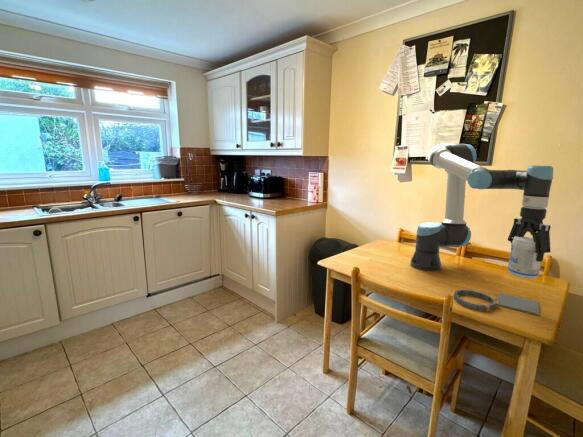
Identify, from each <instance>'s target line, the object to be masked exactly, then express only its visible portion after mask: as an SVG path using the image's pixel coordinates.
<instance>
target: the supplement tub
mask: <svg viewBox="0 0 583 437" xmlns="http://www.w3.org/2000/svg"><path fill="white" fill-rule="evenodd" d="M511 245H512V247H510V251H509V252H510V253H509V258H508V264H507V272H508V274H509V275H511V276H512V277H513V276H514V277H515V278H519V279H524V280H536V279H537V278H538V277H539V273H540V269H531V267H532V261H533V256H534V252H535V251H536V248H535V242H534V240H533V237H530V236H524V237H517V236H516V237H514V239H513V242H512V244H511ZM540 250H541V248H540Z"/></svg>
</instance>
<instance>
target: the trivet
mask: <svg viewBox="0 0 583 437" xmlns="http://www.w3.org/2000/svg"><path fill="white" fill-rule="evenodd" d="M496 302H498V307H503V308H507V309H511V310H515V311H519V312H523V313H526V314H531V315H535V316H538V317H540V312H539V310H540V309H539V303H538V300H533V299H530V298H525V297H520V296H516V295H511V294H506V293H502V292H498V294H497V300H496Z"/></svg>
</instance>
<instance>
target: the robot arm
mask: <svg viewBox="0 0 583 437" xmlns="http://www.w3.org/2000/svg"><path fill="white" fill-rule="evenodd" d="M427 160H428V162H429V164H431V166H433V167H435V168H437V169H443V170H444V171H445V173H446V174H447V179H446V192H445V193H446V194H445V195H446V197H445V199H446V200H445V212H444V219H443V220H442V221H441V223H440V222H431V221H430V222H429V221H428V222H422V223H420V224H419V225H417V228H416V240H415V249H414V252H413V255H412V257H411V260H410V266H412V267H413V268H416V269H419V270H421V271H433V272H436V271H440V270H441V269H442V261H441V256H440V249H441V248H461V247H464V246H467V244H469V243H470V240H471V238H472V231H471V228H470V227H469V226H468V225H467V222H466V221H465V219H464V215H465V214H464V213H465V198H466V186H467V184H468V185H469V187H470V188H471V189H475V190H520V191H523V194H522V201H521V207H520V212H519V216H520V217H521V218H514V219H513V224H512V228H511V230H510V232H509V236H508V238H507V241H508V242H510V244H511V245H510V246H511V247H512V242H513V239H514V237H516V236H517V237H525V235H526V234H527V233H530V235H531V236H532V238H533V240H534V242H535V248H536V251H535V252H534V256H533V261H532V267H531V269H539V270H541V267H542V262H543V261H544V256H545V254H546V253H547V254H548V253H549V254H550V253H551V250H552V249H551V238H550V235H551V234H550V232H551V225H550V224H544V221H543V220H544V219H546V216H547V211H548V210H547V208H548V205H549V200H550V192H551V187H552V182H553V179H554V167H553V166H552V165H528V167H527V169H526V170H518V169H502V170H501V169H488V168H486V167H483V166H481V165H480V164H477V163H476V161H477V151H476V149H475V147H474V146H472V145H471V144H467V143H439V144H435V146H433V147H432V148H431V149H430V150H429V152H428V153H427ZM511 247H510V248H511ZM540 248H541V250H540Z"/></svg>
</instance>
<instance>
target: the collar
mask: <svg viewBox="0 0 583 437" xmlns="http://www.w3.org/2000/svg"><path fill="white" fill-rule="evenodd" d="M459 296H472V297H477V298H481V299H482V300H484V301H487V302H488V304H481V303H480V304H479V303H474V302H470V301H468V300H465V299H464V298H463V299H462V298H461V297H459ZM453 300H454V301H455V302H456V303H458V304H459V305H461V306H463V307H465V308H468V309H472V310H475V311H484V312H485V313H487V312H490V311H491V310H494V309H498V307H499V306H498V302H497V301H496V299H494V298H493V297H492V296H491V295H488V294H487V293H483V292H481V291H477V290H473V289H458V290H455V292H454V293H453Z"/></svg>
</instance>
